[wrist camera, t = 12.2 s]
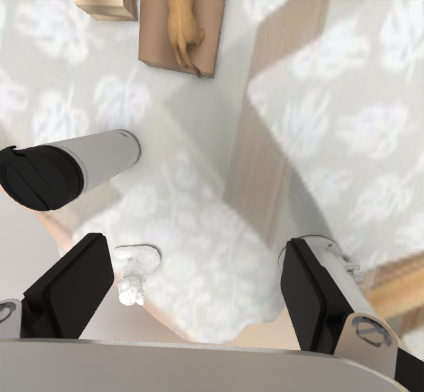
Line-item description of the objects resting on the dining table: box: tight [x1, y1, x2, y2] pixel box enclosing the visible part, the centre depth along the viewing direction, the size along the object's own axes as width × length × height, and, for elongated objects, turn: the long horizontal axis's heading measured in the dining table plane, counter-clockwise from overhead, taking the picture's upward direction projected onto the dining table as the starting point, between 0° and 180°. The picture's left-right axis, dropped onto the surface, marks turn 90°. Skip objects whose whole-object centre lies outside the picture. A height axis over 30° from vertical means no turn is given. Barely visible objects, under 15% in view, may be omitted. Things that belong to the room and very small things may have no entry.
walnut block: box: [138, 0, 226, 78], centre depth 28 cm, size 10×16×5 cm, turn 170°
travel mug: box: [0, 130, 141, 211], centre depth 28 cm, size 6×7×20 cm
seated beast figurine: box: [114, 245, 160, 306], centre depth 41 cm, size 10×9×12 cm
